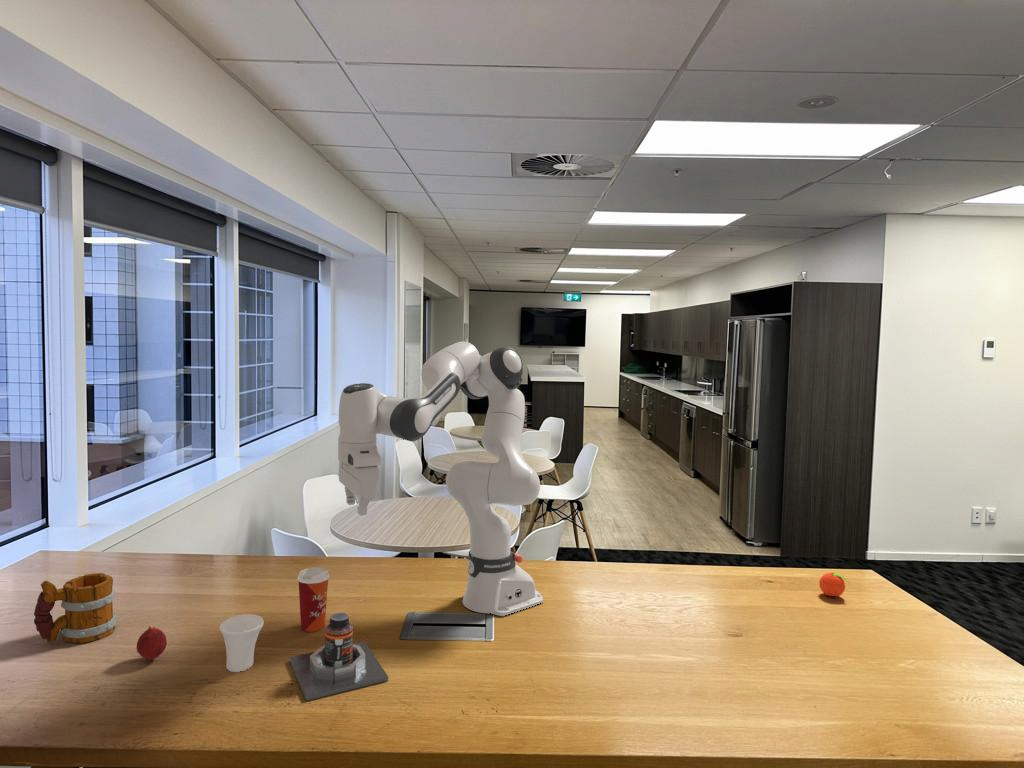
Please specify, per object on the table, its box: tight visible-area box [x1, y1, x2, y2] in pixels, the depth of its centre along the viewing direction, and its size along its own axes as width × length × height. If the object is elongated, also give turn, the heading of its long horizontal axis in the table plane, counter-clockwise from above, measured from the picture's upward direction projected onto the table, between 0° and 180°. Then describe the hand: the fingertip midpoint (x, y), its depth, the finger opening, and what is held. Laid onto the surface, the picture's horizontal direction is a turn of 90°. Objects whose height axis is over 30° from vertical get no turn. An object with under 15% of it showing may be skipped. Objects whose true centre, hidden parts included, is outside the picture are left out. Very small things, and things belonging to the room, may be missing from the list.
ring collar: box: [288, 641, 389, 702], centre depth 141 cm, size 17×17×4 cm
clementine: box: [818, 572, 850, 598], centre depth 192 cm, size 8×7×7 cm
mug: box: [33, 572, 118, 644], centre depth 151 cm, size 11×16×15 cm, turn 137°
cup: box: [219, 613, 265, 673], centre depth 142 cm, size 9×9×10 cm
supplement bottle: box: [324, 612, 354, 667], centre depth 141 cm, size 6×6×11 cm
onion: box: [135, 624, 168, 661], centre depth 143 cm, size 6×6×8 cm
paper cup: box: [296, 566, 331, 633], centre depth 161 cm, size 8×8×14 cm
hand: (356, 509), depth 156 cm, fingers open, 8 cm apart
